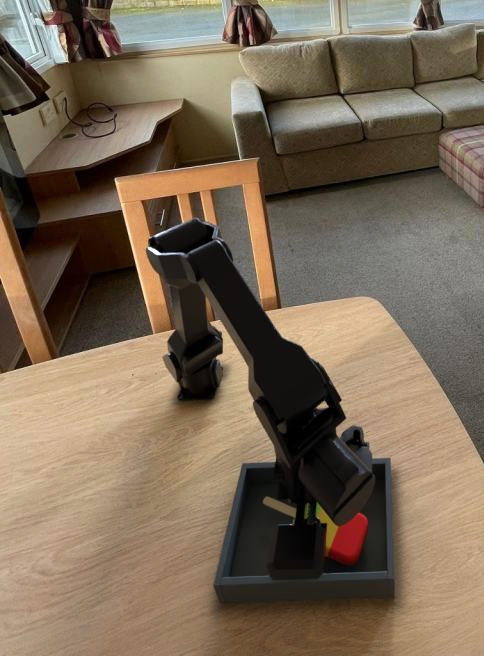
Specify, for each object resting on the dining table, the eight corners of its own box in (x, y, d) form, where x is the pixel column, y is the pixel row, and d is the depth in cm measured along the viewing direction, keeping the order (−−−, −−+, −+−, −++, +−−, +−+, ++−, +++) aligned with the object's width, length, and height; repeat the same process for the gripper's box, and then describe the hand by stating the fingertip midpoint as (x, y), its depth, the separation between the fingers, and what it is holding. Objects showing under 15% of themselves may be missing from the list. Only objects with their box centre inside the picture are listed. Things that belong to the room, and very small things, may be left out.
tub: (219, 604, 59) (213, 585, 57) (247, 481, 72) (242, 462, 70) (395, 597, 60) (394, 579, 58) (391, 476, 72) (390, 457, 70)
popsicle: (355, 571, 60) (354, 563, 60) (253, 524, 65) (251, 517, 64) (371, 523, 65) (371, 515, 64) (275, 483, 70) (273, 475, 69)
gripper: (366, 536, 49) (370, 608, 56) (367, 377, 66) (371, 447, 73) (257, 540, 49) (275, 612, 56) (286, 379, 66) (297, 450, 73)
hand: (311, 519), depth 65 cm, fingers closed on popsicle, 6 cm apart
